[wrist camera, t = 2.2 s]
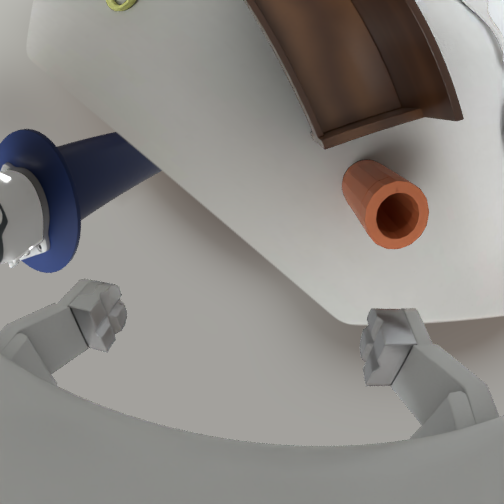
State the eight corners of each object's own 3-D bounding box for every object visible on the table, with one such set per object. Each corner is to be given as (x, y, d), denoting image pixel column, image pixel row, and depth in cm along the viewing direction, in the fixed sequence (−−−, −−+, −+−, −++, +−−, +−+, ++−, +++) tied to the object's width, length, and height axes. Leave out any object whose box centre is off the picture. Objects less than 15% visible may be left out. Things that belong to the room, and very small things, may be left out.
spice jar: (351, 216, 32) (374, 258, 23) (334, 169, 29) (356, 195, 21) (396, 200, 30) (433, 235, 21) (382, 152, 28) (421, 172, 19)
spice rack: (312, 139, 28) (336, 160, 16) (234, -9, 20) (202, -72, 8) (393, 112, 25) (464, 119, 13) (315, -34, 18) (331, -101, 5)
